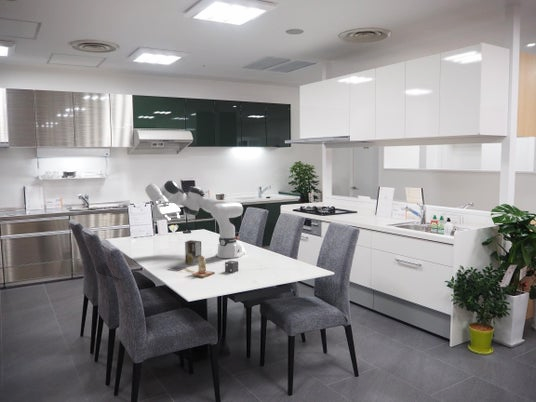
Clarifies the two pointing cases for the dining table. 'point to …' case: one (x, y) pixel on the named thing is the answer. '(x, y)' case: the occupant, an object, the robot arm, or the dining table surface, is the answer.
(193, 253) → the coffee box
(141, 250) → the dining table surface
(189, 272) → the game board
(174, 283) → the dining table surface
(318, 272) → the dining table surface
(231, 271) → the die
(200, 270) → the pawn
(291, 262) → the dining table surface
